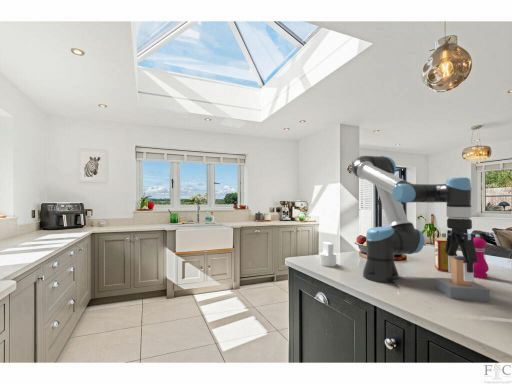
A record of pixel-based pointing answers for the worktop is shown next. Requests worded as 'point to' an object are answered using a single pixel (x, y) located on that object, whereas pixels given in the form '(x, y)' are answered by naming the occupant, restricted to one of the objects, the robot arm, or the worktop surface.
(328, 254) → the cylinder with rectangular tab
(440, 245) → the baking soda box
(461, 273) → the plug
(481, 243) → the pepper mill
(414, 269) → the worktop surface
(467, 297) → the grey square socket block
